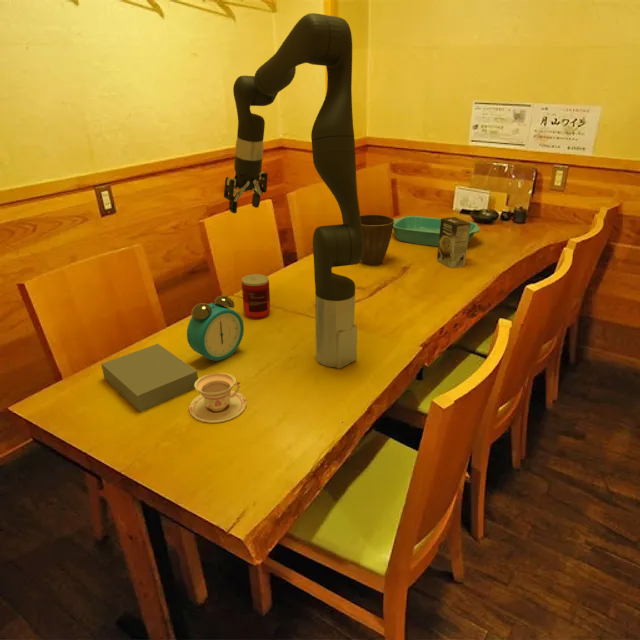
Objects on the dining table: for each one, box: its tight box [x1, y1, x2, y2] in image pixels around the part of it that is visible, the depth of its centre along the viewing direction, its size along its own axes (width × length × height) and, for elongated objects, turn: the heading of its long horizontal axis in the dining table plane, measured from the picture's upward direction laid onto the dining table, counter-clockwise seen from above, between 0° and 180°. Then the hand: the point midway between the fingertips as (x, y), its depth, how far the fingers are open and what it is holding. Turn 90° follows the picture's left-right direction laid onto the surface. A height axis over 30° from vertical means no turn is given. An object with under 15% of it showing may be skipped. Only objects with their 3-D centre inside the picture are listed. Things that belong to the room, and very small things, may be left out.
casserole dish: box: [393, 215, 481, 248], centre depth 216 cm, size 37×22×7 cm, turn 63°
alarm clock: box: [186, 295, 245, 365], centre depth 126 cm, size 13×6×15 cm, turn 138°
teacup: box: [188, 372, 247, 424], centre depth 108 cm, size 12×12×6 cm
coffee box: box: [436, 216, 470, 269], centre depth 187 cm, size 9×6×16 cm
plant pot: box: [360, 214, 395, 267], centre depth 188 cm, size 15×15×16 cm
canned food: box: [241, 273, 271, 320], centre depth 149 cm, size 8×8×11 cm
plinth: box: [100, 343, 199, 413], centre depth 117 cm, size 18×14×4 cm
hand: (244, 209), depth 151 cm, fingers open, 8 cm apart
